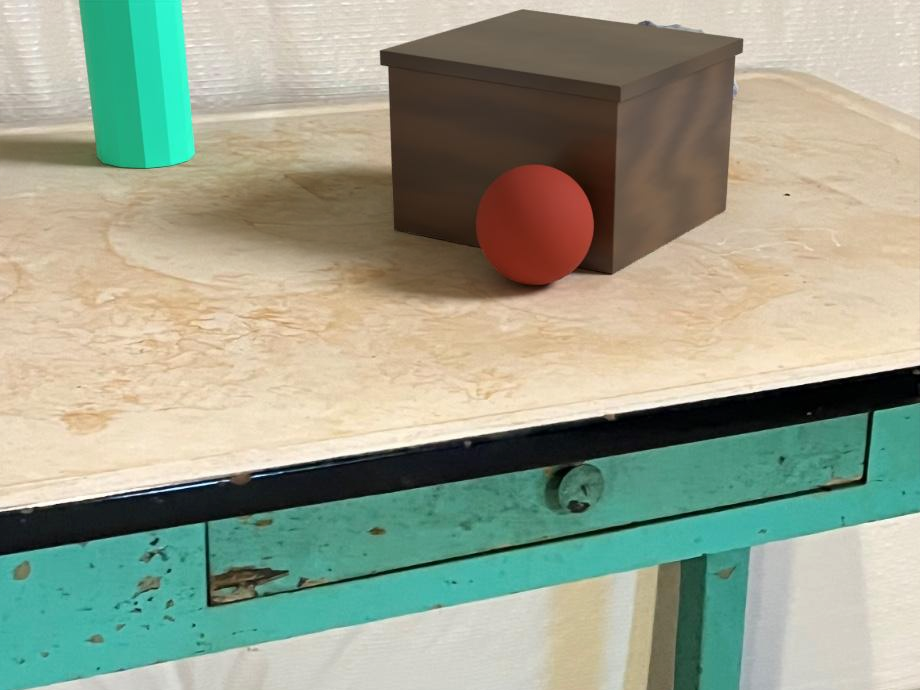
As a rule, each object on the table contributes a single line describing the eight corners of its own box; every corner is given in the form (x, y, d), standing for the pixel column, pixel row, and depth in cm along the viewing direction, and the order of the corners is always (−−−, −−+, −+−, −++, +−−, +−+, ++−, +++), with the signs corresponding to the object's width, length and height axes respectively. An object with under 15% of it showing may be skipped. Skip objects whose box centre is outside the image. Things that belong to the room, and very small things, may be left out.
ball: (486, 256, 82) (539, 143, 82) (438, 247, 88) (488, 141, 87) (582, 310, 86) (633, 202, 85) (531, 298, 91) (579, 196, 91)
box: (614, 277, 89) (620, 86, 84) (385, 230, 95) (379, 50, 90) (732, 209, 100) (744, 38, 95) (521, 171, 106) (521, 8, 101)
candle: (79, 153, 107) (55, -48, 101) (164, 138, 111) (145, -56, 105) (127, 173, 104) (104, -34, 98) (213, 157, 107) (195, -43, 101)
